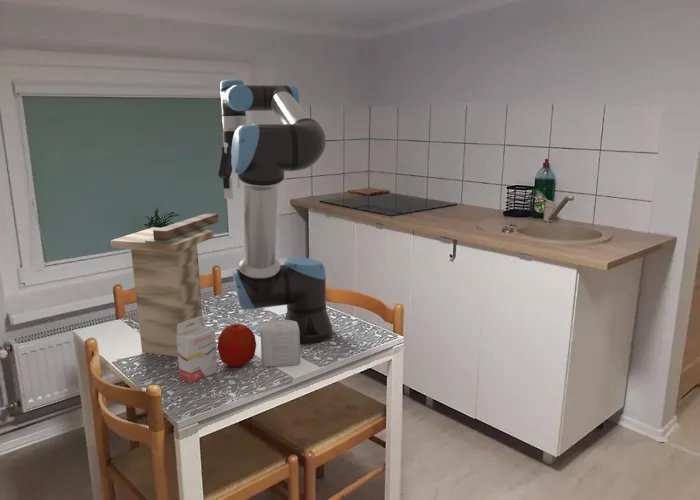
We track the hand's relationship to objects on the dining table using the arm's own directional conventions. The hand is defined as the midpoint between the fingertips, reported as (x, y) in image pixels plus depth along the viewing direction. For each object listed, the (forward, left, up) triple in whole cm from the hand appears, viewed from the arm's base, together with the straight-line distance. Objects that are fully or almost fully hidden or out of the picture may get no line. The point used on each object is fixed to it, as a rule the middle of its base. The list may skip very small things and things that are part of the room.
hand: (238, 195), depth 186 cm
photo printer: (-40, +30, -39) cm, 63 cm away
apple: (-30, +36, -39) cm, 61 cm away
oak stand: (-7, +37, -39) cm, 54 cm away
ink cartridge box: (-26, +46, -39) cm, 66 cm away
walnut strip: (-9, +31, -5) cm, 32 cm away
